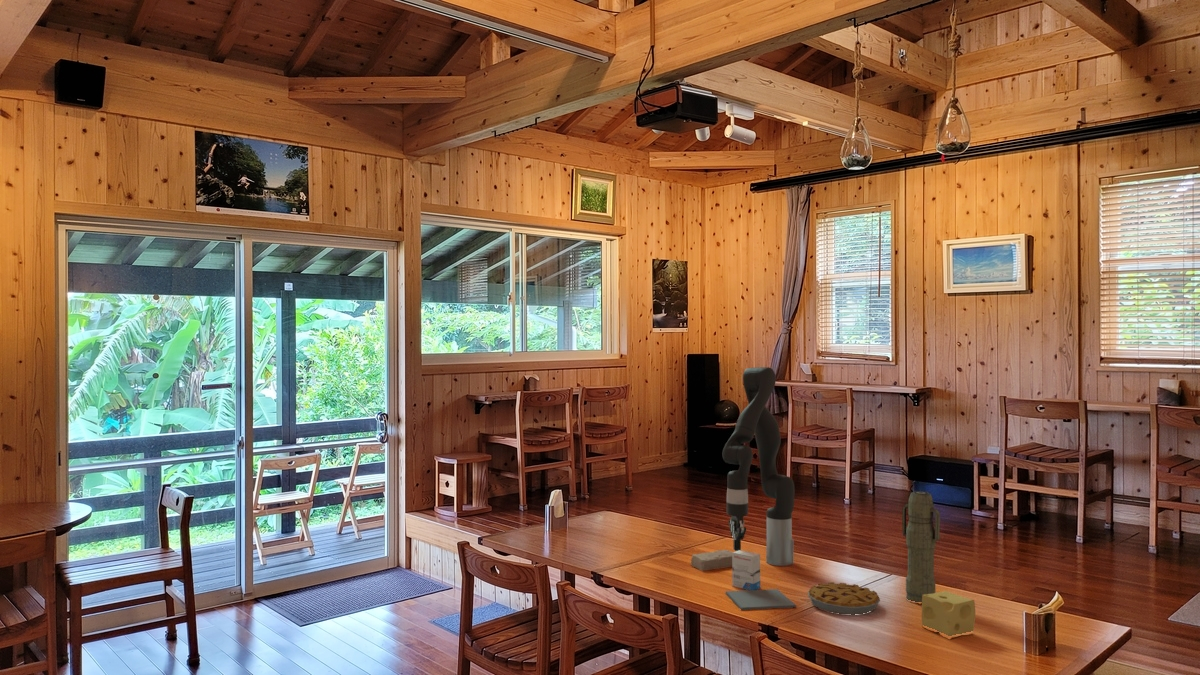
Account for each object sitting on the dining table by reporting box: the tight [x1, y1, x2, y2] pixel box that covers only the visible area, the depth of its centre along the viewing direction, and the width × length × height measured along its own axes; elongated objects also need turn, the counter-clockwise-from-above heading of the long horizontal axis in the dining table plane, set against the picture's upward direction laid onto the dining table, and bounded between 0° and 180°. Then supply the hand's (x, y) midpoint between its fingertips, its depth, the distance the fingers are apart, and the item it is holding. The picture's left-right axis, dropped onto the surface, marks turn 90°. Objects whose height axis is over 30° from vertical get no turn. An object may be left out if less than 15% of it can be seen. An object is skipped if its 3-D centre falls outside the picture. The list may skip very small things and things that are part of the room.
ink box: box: [731, 550, 762, 590], centre depth 267 cm, size 9×5×12 cm, turn 47°
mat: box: [725, 588, 797, 611], centre depth 254 cm, size 18×16×1 cm
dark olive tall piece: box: [901, 490, 941, 602], centre depth 255 cm, size 9×12×35 cm
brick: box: [690, 549, 734, 572], centre depth 293 cm, size 17×8×5 cm, turn 116°
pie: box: [807, 582, 881, 616], centre depth 250 cm, size 22×22×5 cm
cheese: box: [921, 590, 976, 636], centre depth 228 cm, size 10×11×10 cm
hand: (737, 550), depth 277 cm, fingers closed
